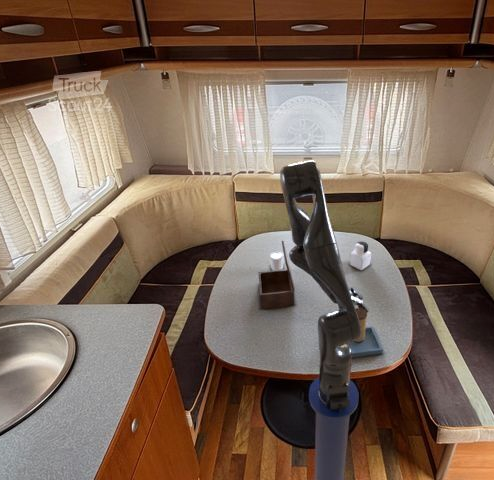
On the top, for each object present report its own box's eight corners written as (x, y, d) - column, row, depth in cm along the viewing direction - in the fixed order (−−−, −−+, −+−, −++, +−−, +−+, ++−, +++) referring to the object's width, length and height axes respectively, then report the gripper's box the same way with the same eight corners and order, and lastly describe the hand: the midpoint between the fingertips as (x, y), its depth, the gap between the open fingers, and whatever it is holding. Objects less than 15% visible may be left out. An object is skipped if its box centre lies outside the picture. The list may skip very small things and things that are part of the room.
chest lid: (285, 262, 137) (287, 262, 137) (281, 241, 150) (283, 240, 150) (292, 291, 145) (294, 290, 145) (288, 268, 158) (290, 267, 158)
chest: (261, 308, 147) (259, 295, 143) (259, 285, 160) (258, 271, 157) (294, 305, 149) (293, 291, 145) (290, 282, 162) (289, 268, 158)
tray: (382, 353, 127) (382, 349, 126) (339, 359, 125) (339, 355, 124) (372, 329, 137) (372, 325, 136) (332, 334, 135) (332, 330, 134)
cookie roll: (359, 345, 129) (362, 320, 123) (347, 338, 132) (349, 313, 126) (367, 337, 133) (370, 312, 126) (355, 330, 136) (358, 306, 129)
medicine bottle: (358, 258, 177) (360, 238, 171) (370, 264, 173) (372, 243, 167) (349, 264, 173) (351, 243, 167) (361, 270, 169) (363, 249, 162)
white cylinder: (281, 262, 176) (280, 250, 172) (286, 269, 170) (286, 257, 167) (267, 265, 173) (267, 253, 169) (273, 273, 168) (272, 261, 164)
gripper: (333, 279, 133) (361, 310, 135) (319, 303, 122) (349, 337, 124) (348, 271, 128) (376, 304, 130) (334, 295, 117) (365, 330, 119)
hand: (363, 320), depth 127 cm, fingers open, 8 cm apart
